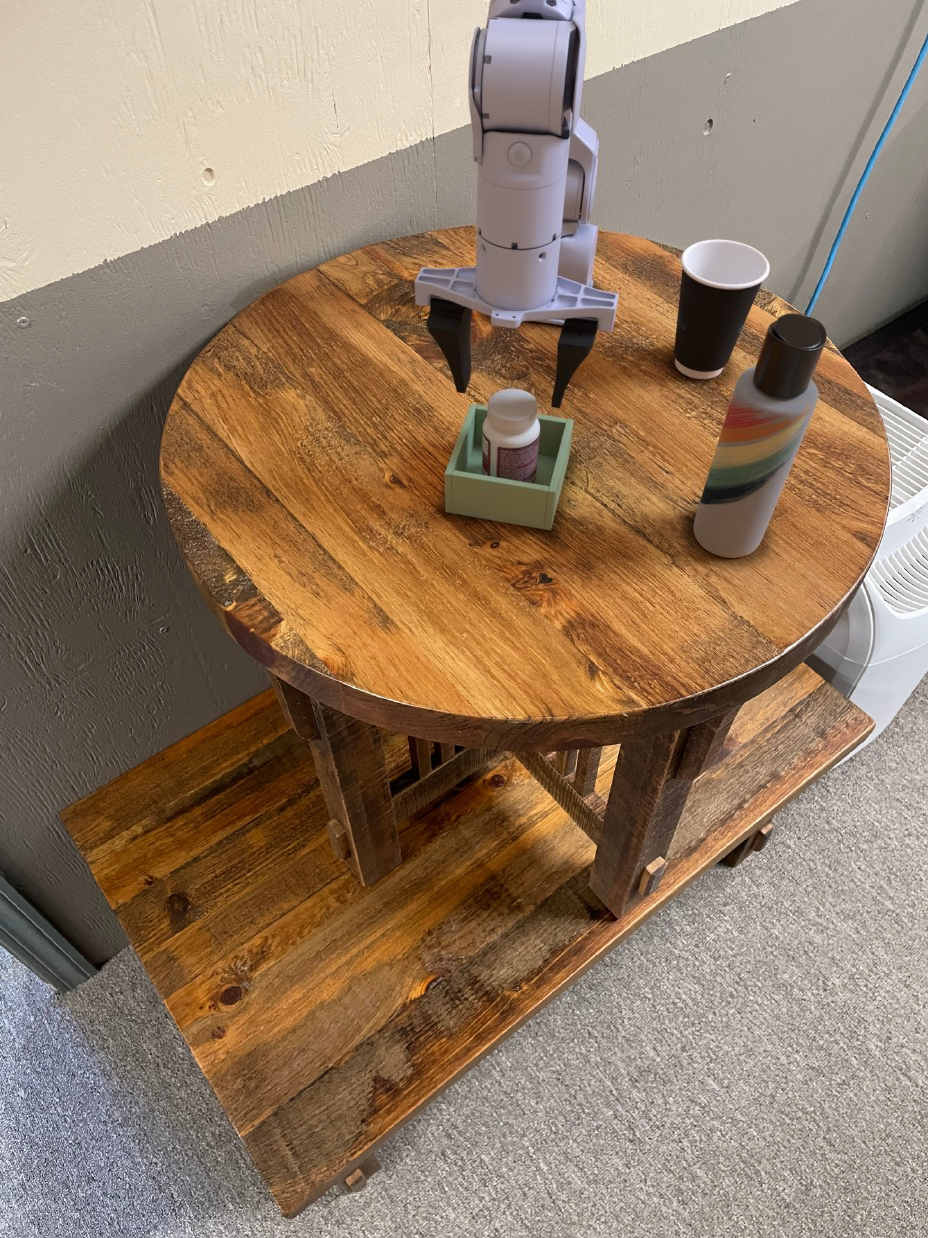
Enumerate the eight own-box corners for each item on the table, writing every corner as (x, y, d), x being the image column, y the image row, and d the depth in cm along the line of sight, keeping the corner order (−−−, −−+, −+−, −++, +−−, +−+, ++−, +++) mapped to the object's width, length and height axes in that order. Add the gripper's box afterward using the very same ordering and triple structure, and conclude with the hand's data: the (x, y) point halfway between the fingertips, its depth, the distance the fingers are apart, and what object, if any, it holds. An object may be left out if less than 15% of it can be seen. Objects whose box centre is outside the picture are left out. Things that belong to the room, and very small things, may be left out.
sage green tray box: (568, 458, 78) (573, 419, 75) (550, 530, 73) (555, 492, 69) (470, 442, 80) (470, 403, 76) (445, 512, 74) (444, 473, 70)
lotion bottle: (722, 500, 75) (792, 291, 59) (774, 538, 72) (862, 329, 56) (677, 530, 73) (737, 321, 57) (729, 570, 70) (807, 363, 54)
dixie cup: (643, 352, 88) (663, 250, 79) (708, 333, 90) (734, 231, 81) (688, 397, 83) (714, 294, 75) (755, 375, 86) (788, 273, 77)
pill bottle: (545, 476, 76) (553, 399, 69) (516, 507, 74) (521, 430, 67) (501, 454, 78) (504, 377, 71) (470, 484, 75) (471, 407, 69)
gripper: (398, 244, 57) (408, 410, 67) (618, 273, 55) (593, 439, 65) (426, 192, 61) (432, 356, 72) (632, 218, 59) (606, 382, 70)
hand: (510, 392), depth 69 cm, fingers open, 7 cm apart
